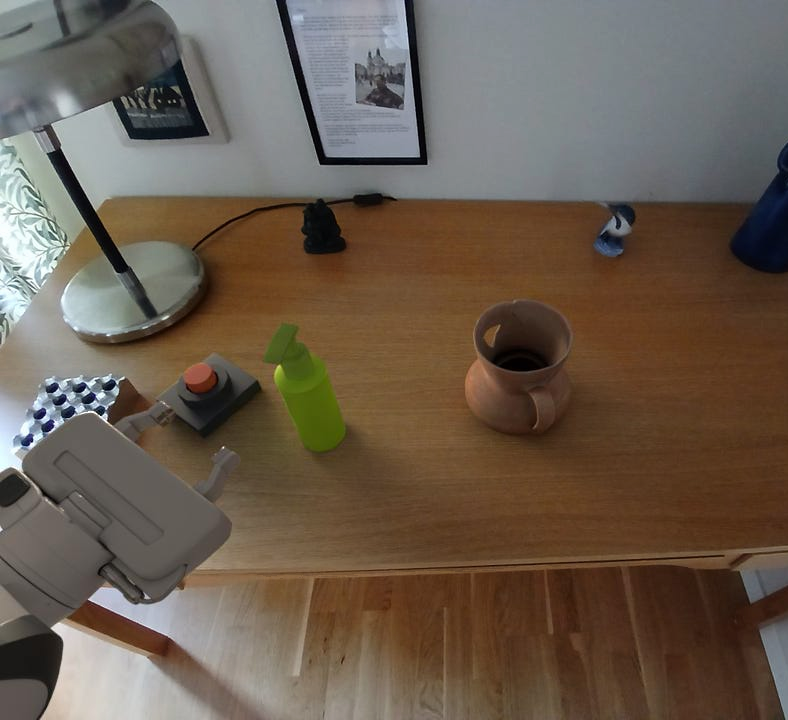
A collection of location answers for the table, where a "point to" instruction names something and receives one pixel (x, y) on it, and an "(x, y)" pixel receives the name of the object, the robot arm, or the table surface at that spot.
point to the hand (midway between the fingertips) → (200, 429)
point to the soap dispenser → (305, 390)
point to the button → (200, 378)
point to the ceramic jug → (520, 368)
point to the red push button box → (211, 397)
